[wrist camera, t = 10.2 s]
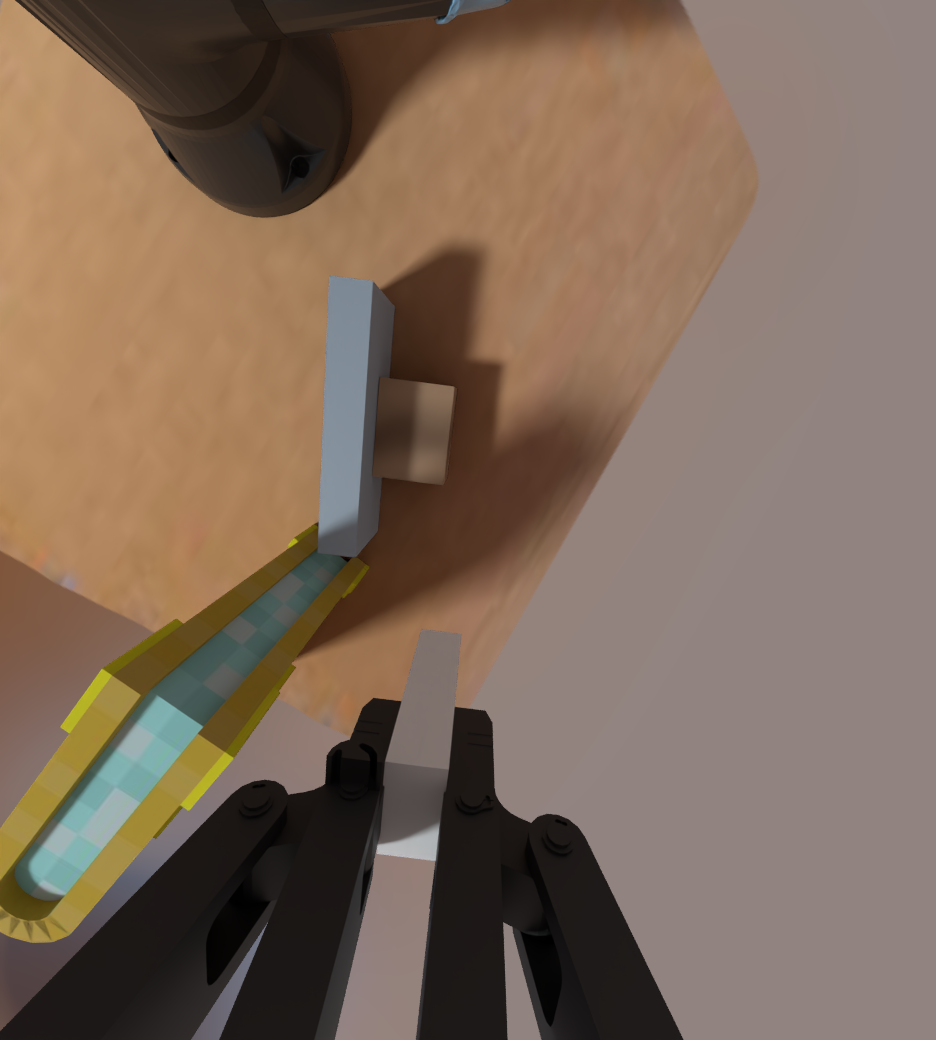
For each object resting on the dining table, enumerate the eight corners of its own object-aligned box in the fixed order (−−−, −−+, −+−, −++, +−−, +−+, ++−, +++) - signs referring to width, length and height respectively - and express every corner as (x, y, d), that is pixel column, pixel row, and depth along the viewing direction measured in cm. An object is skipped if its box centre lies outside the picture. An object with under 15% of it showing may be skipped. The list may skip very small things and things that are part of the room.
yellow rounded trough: (314, 523, 43) (102, 668, 19) (369, 567, 44) (233, 758, 20) (220, 644, 47) (-62, 896, 23) (273, 682, 48) (57, 964, 23)
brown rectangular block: (390, 380, 40) (379, 376, 36) (457, 389, 40) (454, 386, 36) (383, 469, 42) (372, 476, 38) (447, 477, 42) (443, 485, 38)
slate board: (360, 302, 39) (329, 275, 31) (395, 306, 39) (372, 281, 31) (347, 527, 43) (317, 552, 36) (378, 531, 43) (355, 557, 36)
